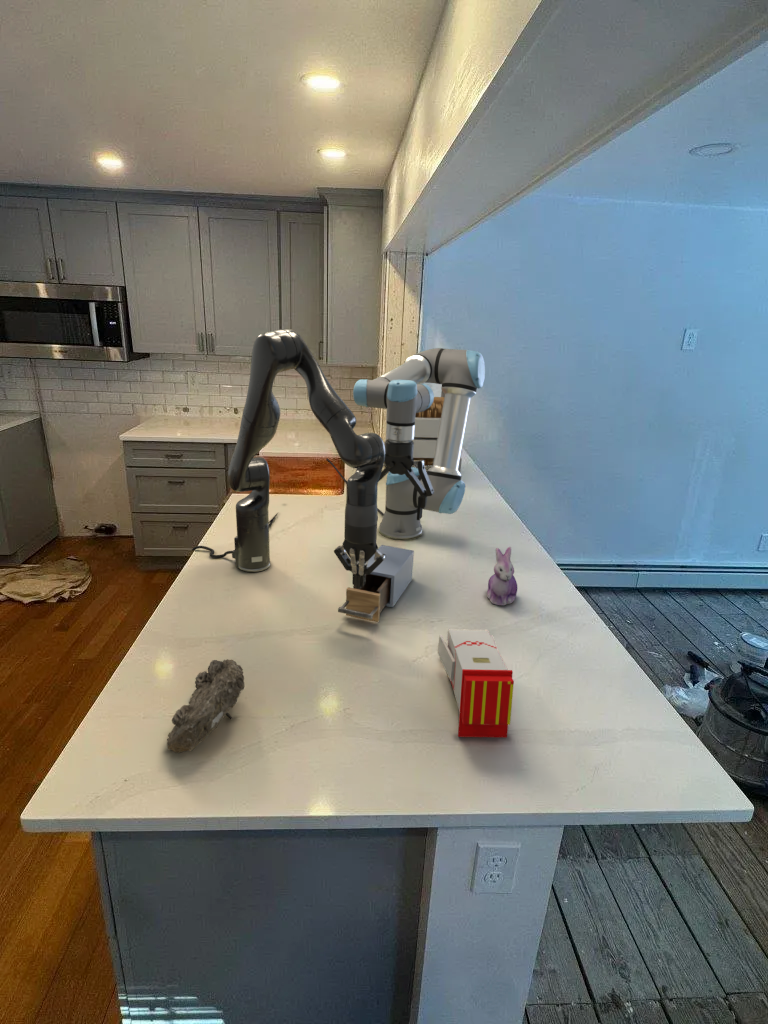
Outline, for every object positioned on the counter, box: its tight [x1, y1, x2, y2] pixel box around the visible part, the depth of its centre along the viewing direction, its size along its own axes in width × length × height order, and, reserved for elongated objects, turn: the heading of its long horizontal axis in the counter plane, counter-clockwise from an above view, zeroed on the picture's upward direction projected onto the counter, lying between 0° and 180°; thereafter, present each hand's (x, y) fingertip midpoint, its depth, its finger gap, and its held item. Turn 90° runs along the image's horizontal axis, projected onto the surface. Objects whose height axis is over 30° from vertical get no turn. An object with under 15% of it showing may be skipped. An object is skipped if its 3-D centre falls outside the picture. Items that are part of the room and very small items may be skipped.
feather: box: [269, 512, 279, 528], centre depth 210 cm, size 2×28×2 cm
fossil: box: [166, 658, 245, 754], centre depth 106 cm, size 22×10×15 cm
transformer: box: [383, 390, 463, 475], centre depth 268 cm, size 34×33×41 cm
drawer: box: [337, 574, 391, 623], centre depth 147 cm, size 22×9×8 cm, turn 161°
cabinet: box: [367, 544, 415, 608], centre depth 158 cm, size 18×10×9 cm, turn 161°
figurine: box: [486, 546, 518, 606], centre depth 155 cm, size 9×10×15 cm
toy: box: [437, 628, 515, 738], centre depth 117 cm, size 12×13×30 cm
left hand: (358, 587), depth 137 cm, fingers closed
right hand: (395, 515), depth 158 cm, fingers open, 13 cm apart
